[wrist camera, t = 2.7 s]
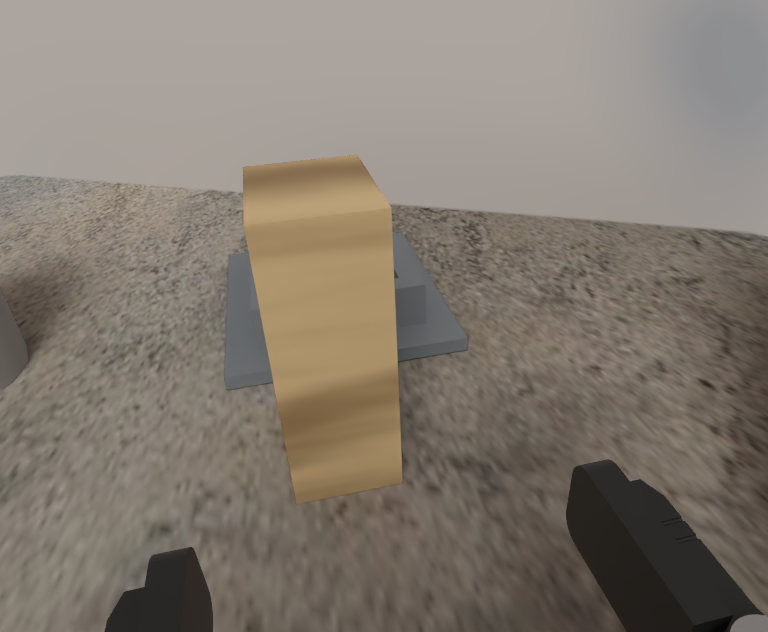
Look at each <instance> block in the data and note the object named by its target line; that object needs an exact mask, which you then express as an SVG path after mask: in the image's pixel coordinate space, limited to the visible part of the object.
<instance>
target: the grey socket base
mask: <svg viewBox="0 0 768 632" xmlns="http://www.w3.org/2000/svg"><path fill="white" fill-rule="evenodd" d="M392 237H393V261H394V285H395V309H396V333H397V357H398V361H404V360H409V359H415V358H421V357H427V356H433V355H439V354H445V353H451V352H457V351H463V350H468V337H467V335H466V334H465V332H464V331H463V329H462V327H461V326H460V324H459V323H458V321H457V319H456V318H455V316H454V315H453V313H452V311H451V310H450V308H449V307H448V305H447V303H446V302H445V300H444V299H443V297H442V295H441V294H440V292H439V291H438V289H437V287H436V286H435V284H434V283H433V281H432V279H431V278H430V276H429V275H428V273H427V271H426V270H425V268H424V267H423V265H422V263H421V262H420V260H419V259H418V257H417V255H416V254H415V252H414V251H413V249H412V247H411V246H410V244H409V243H408V241H407V239H406V238H405V236H404V235H403V233H402V232H401V233H394V231H393V229H392ZM224 379H225V384H226V388H227V390H230V389H236V388H242V387H248V386H254V385H260V384H266V383H272V382H273V378H272V372H271V367H270V362H269V356H268V351H267V346H266V341H265V335H264V330H263V325H262V319H261V314H260V309H259V304H258V298H257V293H256V288H255V283H254V277H253V272H252V267H251V261H250V256H249V252H248V253H240V254H232V255H229V266H228V291H227V316H226V342H225V367H224Z"/></svg>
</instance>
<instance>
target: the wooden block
mask: <svg viewBox="0 0 768 632" xmlns="http://www.w3.org/2000/svg"><path fill="white" fill-rule="evenodd" d="M243 206H244V230H245V235H246V240H247V246H248V251H249V256H250V261H251V267H252V272H253V277H254V283H255V288H256V293H257V298H258V304H259V309H260V314H261V319H262V325H263V330H264V335H265V341H266V346H267V351H268V356H269V362H270V367H271V372H272V378H273V383H274V388H275V393H276V399H277V404H278V409H279V415H280V420H281V425H282V430H283V436H284V441H285V446H286V452H287V457H288V462H289V467H290V473H291V478H292V483H293V489H294V494H295V499H296V504H301V503H306V502H311V501H316V500H321V499H326V498H331V497H335V496H340V495H345V494H350V493H355V492H360V491H365V490H370V489H375V488H380V487H385V486H390V485H395V484H400V483H403V476H402V452H401V428H400V404H399V381H398V357H397V333H396V309H395V285H394V261H393V237H392V213H391V206H390V205H389V203H388V202H387V200H386V199H385V197H384V196H383V194H382V192H381V191H380V189H379V188H378V186H377V185H376V183H375V182H374V180H373V179H372V177H371V176H370V174H369V172H368V171H367V169H366V168H365V166H364V165H363V163H362V161H361V160H360V158H359V157H358V155H349V156H341V157H340V156H339V157H331V158H321V159H313V160H312V159H311V160H303V161H293V162H284V163H274V164H266V165H256V166H246V167H243Z"/></svg>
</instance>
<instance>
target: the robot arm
mask: <svg viewBox="0 0 768 632" xmlns="http://www.w3.org/2000/svg"><path fill="white" fill-rule="evenodd" d="M566 520H567V525H568V529H569V532H570V535H571V537H572V540H573V542H574V543H575V545H576V547H577V548H578V550H579V552H580V554H581V555H582V557H583V559H584V560H585V562H586V564H587V565H588V567H589V569H590V570H591V572H592V574H593V575H594V577H595V579H596V581H597V582H598V584H599V586H600V587H601V589H602V591H603V592H604V594H605V596H606V597H607V599H608V601H609V602H610V604H611V606H612V608H613V609H614V611H615V613H616V614H617V616H618V618H619V619H620V621H621V623H622V624H623V626H624V628H625V629H626V631H627V632H768V616H765V615H764V614H763V613H761V612H760V611H759V610H758V609H757V608H756V607H755V605H754V604H753V603H752V602H751V601H750V600H749V598H748V597H747V596H746V595H745V594H744V592H743V591H742V590H741V589H740V588H739V586H738V585H737V584H736V583H735V581H734V580H733V579H732V578H731V577H730V575H729V574H728V573H727V572H726V570H725V569H724V568H723V567H722V566H721V564H720V563H719V562H718V561H717V560H716V558H715V557H714V556H713V555H712V553H711V552H710V551H709V550H708V549H707V547H706V546H705V545H704V544H703V543H702V541H701V540H700V539H697V538H696V534H695V533H694V532H693V530H692V529H691V528H690V527H689V525H688V524H687V523H686V522H685V521H682V519H681V516H680V515H679V513H678V512H677V511H676V510H675V508H674V507H673V506H672V505H671V504H670V502H669V501H668V500H667V499H666V498H665V496H664V495H662V494H661V493H659V492H658V491H656V490H655V489H654V488H652V487H651V486H649V485H648V484H646V483H645V482H643V481H642V480H641V479H639V480H635V481H629V480H628V478H627V477H626V476H625V475H624V473H623V472H622V471H621V469H620V468H619V467H618V466H617V464H616V463H614V462H613V461H611V460H603V461H598V462H594V463H589V464H584V465H580V466H576V467H575V468H574V470H573V473H572V479H571V486H570V492H569V498H568V504H567V510H566ZM105 632H213V611H212V602H211V596H210V592H209V589H208V587H207V584H206V581H205V578H204V575H203V573H202V570H201V567H200V564H199V562H198V559H197V556H196V553H195V551H194V549H193V548H192V547H188V548H183V549H179V550H174V551H169V552H165V553H160V554H155V555H152V556H151V558H150V560H149V564H148V569H147V576H146V582H145V587H143V588H139V589H134V590H130V591H125V592H124V593H123V595H122V596H121V598H120V600H119V602H118V603H117V605H116V607H115V608H114V610H113V612H112V613H111V615H110V617H109V618H108V620H107V624H106V628H105Z"/></svg>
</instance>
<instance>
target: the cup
mask: <svg viewBox="0 0 768 632" xmlns="http://www.w3.org/2000/svg"><path fill="white" fill-rule="evenodd" d="M27 363H28V351H27V345H26V343H25V340H24V338H23V336H22V334H21V332H20V330H19V327H18V325H17V323H16V321H15V319H14V316H13V314H12V312H11V310H10V308H9V305H8V303H7V301H6V299H5V297H4V295H3V292H2V290H1V288H0V391H1V390H2V389H4V388H5V387H7V386H8V385H10V384H11V383H13V382H14V380H15V379H16V378H17V376H18V375H19V374H20V372H21V371H22V370H23V368H24V367H25V366H26V364H27Z"/></svg>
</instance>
